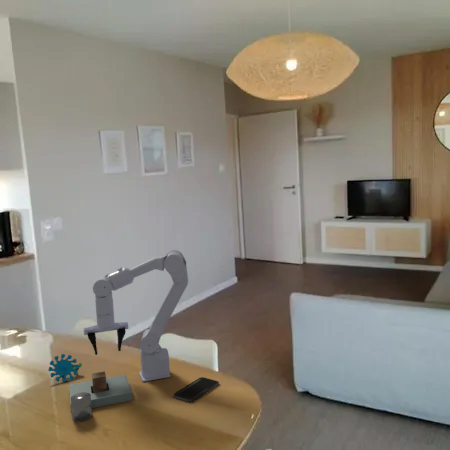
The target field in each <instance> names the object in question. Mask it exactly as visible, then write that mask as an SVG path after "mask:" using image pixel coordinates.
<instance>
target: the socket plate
mask: <svg viewBox="0 0 450 450" xmlns="http://www.w3.org/2000/svg"><path fill="white" fill-rule="evenodd" d="M129 382H130V381H129V379H128V376H127V374H122V375H121V374H120V375H115V376H111V377H106V385H107V391H103V392H98V393H93V381H92V380H87V381H81V382H76V383H71V384H69V401H70V402H69V403H70V404H69V405H70V406H71V397H72V396H73V395H75V394H77V393H82V392H86V393H90V395H91V406H92V409H94V408H99V407H103V406H109V405H114V404H119V403H124V402H129V401H133V392H132V389H131V385H130V383H129ZM70 412H71V413H72V409H71V408H70Z"/></svg>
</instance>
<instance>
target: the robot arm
mask: <svg viewBox="0 0 450 450" xmlns="http://www.w3.org/2000/svg"><path fill="white" fill-rule="evenodd" d="M154 270H158V271H161V272H164V271H166V272H167V273H168V274H169V275H170V277H171V280H172V285H171V286H170V288H169V290H168V292H167V293H166V296H165V298H164V299H163V301H162V303H161V305H160V307H159V309H158V311H157V313H156V315H155V316H154V319H153V320H152V321H151V324H150V325H149V326H148V327H147V328H146V329H145V330H143V333H142V336H141V340H140V342H139V349H140V350H139V351H140V366H141V370H140V371H139V372H138V373H139V376H140V379H141V381H142V382H149V381H155V380H159V379H160V380H161V379H165V378H170V377H171V371H170V369H171V367H170V355H169V354H170V353H169V349H167V347H163V348H162V346H161V344H160V340H161V337H162V335H163V333H164V330H165V328H166V326H167V324H168V323H169V321H170V318H171V317H172V315H173V313H174V312H175V309H176V308H177V305H178V303H179V302H180V299H181V298H182V296H183V295H184V292H185V291H186V289H187V286H188V284H189V276H188V267H187V260H186V258H185V256H184V255H183V253H182V252H181V251H179V250H176V249H175V250H170V251H168V253H167V252H165V253H161V254H159V255H157V256H154V257H152V258H150V259H149V260H146V261H144V262H143V263H140V264H138V265H136V266H134V267H132V268H129V267H121V266H120V267H118V268H117V270H116V271H114V272H112V273H109V274H108V273H106V274H105V275H104V276H102V277H100V278H98V279H97V280H96V281H95V283H93V286H92V291H93V294H94V295H95V313H96V314H95V315H96V324H95V325H92V326H88V327H83V335H84V336H87V338H88V340H89V341H90V343H91V346H92V347H93V351H94V355H96V356H97V355H98V348H97V338H96V337H97V336H96V334H98V333H104V332H111V331H116V335H117V350H118V352H121V351H122V343H123V340H124V338H125V335H126V330H129V323H128V321H123V322H121V321H120V322H115V311H114V298H113V291H117V290H119V289H122V288H124V287H126V286H128V285H130V284H133V282H134V279H135V278H137V277H139V276H143V275H145V274H147V273H150V272H153V271H154Z"/></svg>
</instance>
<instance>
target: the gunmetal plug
mask: <svg viewBox="0 0 450 450" xmlns="http://www.w3.org/2000/svg"><path fill="white" fill-rule="evenodd" d="M71 409H72V412H71V417H72V419H71V420H73V422H77V423H78V422H85V421H88V420H90V419H91V418H92V417H93V410H92V409H93V408H92V406H91V395H90V393H86V392H82V393H77V394H75V395H73V396H72V397H71V405H70V410H71Z"/></svg>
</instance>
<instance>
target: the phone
mask: <svg viewBox="0 0 450 450" xmlns="http://www.w3.org/2000/svg"><path fill="white" fill-rule="evenodd" d="M219 385H220V382H219V381H218V380H215V379H213V378H212V379H211V378H207V377H203V376H202V377H198V378H197V379H195V380H194V381H192V382H191V383H189V384H187V385H186V386H184V387H183V388H181V389H179V390H178V391H176V392H174V393H173V399H175V398H176V399H175V400H178V401H182V400H183V401H182V402H185V401H186V403H188V402H189V404H192V403H191V402H193V403H194V401H195V400H196V401H197V400H199V399H200V398H202V397H204V396H205V395H207V394H208V393H209V392H211V391H212V390H214V389H215V388H217V387H218V386H219ZM213 388H214V389H213ZM210 390H211V391H210ZM207 392H208V393H207ZM204 394H205V395H204ZM196 401H195V402H196Z"/></svg>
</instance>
